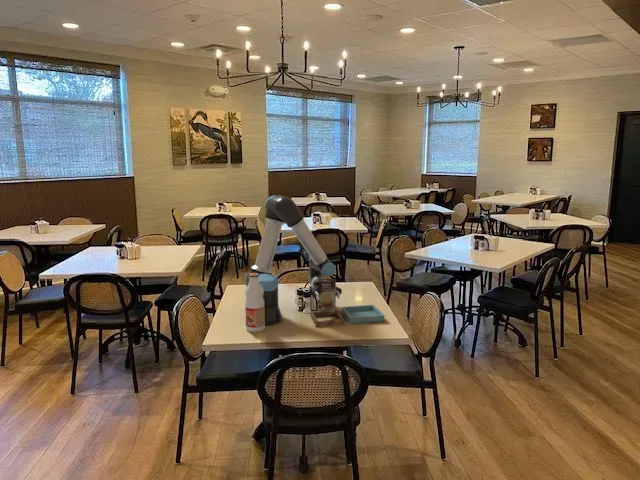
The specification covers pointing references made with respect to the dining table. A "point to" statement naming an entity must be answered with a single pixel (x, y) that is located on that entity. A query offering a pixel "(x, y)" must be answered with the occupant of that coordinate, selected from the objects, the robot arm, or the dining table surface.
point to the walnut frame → (328, 322)
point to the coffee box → (327, 295)
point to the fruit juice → (254, 305)
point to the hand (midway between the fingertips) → (328, 296)
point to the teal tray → (362, 314)
